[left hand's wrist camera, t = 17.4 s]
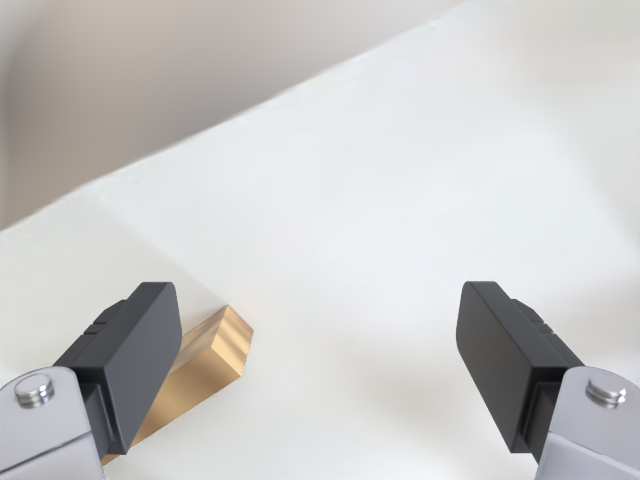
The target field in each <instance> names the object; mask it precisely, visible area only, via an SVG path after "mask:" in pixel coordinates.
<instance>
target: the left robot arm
mask: <svg viewBox="0 0 640 480" xmlns="http://www.w3.org/2000/svg"><path fill="white" fill-rule="evenodd" d="M181 342H182V329H181V322H180V316H179V309H178V303H177V296H176V290H175V286H174V284H173V283H172V282H143V283H141V284H140V285H139V286H138V287H137V289H136V290H135V291H134V292H133V293H132V294H131V295H130V297H129V298H128V299H127V300H121V301H119V302H117V303H116V304H114V305H112V306H111V307H109V308H107V309H106V310H104V311H103V312H102V313H101V314H100V315H99V317H98V318H97V319H96V320H95V321H94V322H93V325H90V326H89V327H88V328H87V329H86V330H85V331H84V335H81V336H80V337H79V338H78V339H77V340H76V341H75V342H74V343H73V344H72V345H71V346H70V347H69V349H68V350H67V351H66V352H65V353H64V354H63V355H62V356H61V357H60V358H59V359H58V360H57V361H56V362H55V363H54V364H53V366H52V367H45V368H41V369H37V370H34V371H31V372H28V373H26V374H23V375H21V376H19V377H17V378H15V379H14V380H12V381H10V382H9V383H7V384H6V385H5V386H3V387H2V388H1V389H0V480H106V479H105V476H104V472H103V469H102V465H101V461H102V459H103V457H104V456H105V455H126V454H127V452H128V450H129V448H130V446H131V444H132V442H133V440H134V438H135V436H136V434H137V433H138V431H139V429H140V427H141V425H142V423H143V421H144V419H145V417H146V415H147V413H148V411H149V409H150V407H151V406H152V404H153V402H154V400H155V398H156V396H157V394H158V392H159V390H160V388H161V386H162V384H163V382H164V380H165V379H166V377H167V375H168V373H169V371H170V369H171V367H172V365H173V363H174V361H175V359H176V357H177V355H178V353H179V351H180V347H181ZM456 342H457V347H458V350H459V353H460V355H461V357H462V359H463V361H464V363H465V365H466V367H467V369H468V371H469V372H470V374H471V376H472V378H473V380H474V382H475V384H476V386H477V388H478V390H479V392H480V394H481V396H482V398H483V400H484V402H485V404H486V406H487V408H488V410H489V412H490V413H491V415H492V417H493V419H494V421H495V423H496V425H497V427H498V429H499V431H500V433H501V435H502V437H503V439H504V441H505V443H506V445H507V447H508V449H509V451H510V453H532V455H533V456H534V458H535V460H536V462H537V464H538V469H537V472H536V476H535V479H534V480H640V389H639V388H638V387H637V386H635V385H634V384H633V383H631V382H630V381H628V380H626V379H625V378H623V377H621V376H619V375H617V374H614V373H612V372H609V371H606V370H603V369H599V368H595V367H586V366H585V365H584V364H583V363H582V362H581V361H580V360H579V358H578V357H577V356H576V355H575V354H574V353H573V352H572V351H571V350H570V349H569V348H568V347H567V346H566V344H565V343H564V342H563V341H562V340H561V339H560V338H559V337H558V336H557V335H556V334H553V331H552V329H551V328H550V327H549V326H548V325H547V324H544V321H543V320H542V319H541V318H540V317H539V315H538V314H537V313H536V312H535V311H534V310H533V309H531V308H530V307H528V306H526V305H525V304H523V303H521V302H520V301H518V300H516V299H510V298H509V296H508V295H507V294H506V293H505V292H504V291H503V290H502V288H501V287H500V286H499V285H498V284H497V283H496V282H494V281H467V282H465V283H464V285H463V288H462V294H461V301H460V308H459V314H458V321H457V328H456Z"/></svg>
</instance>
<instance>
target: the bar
mask: <svg viewBox="0 0 640 480" xmlns="http://www.w3.org/2000/svg"><path fill="white" fill-rule="evenodd" d="M252 335H253V330H252V329H251V328H250V327H249V326H248V325H247V324H246V322H245V321H244V320H243V319H242V318H241V317H240V316H239V315H238V314H237V313H236V312H235V311H234V310H233V309H232V308H231V307H230V306H229V305H227V306H225V307H224V308H223V309H221V310H220V311H218V312H217V313H215V314H214V315H213V316H211V317H210V318H208V319H207V320H206V321H204V322H203V323H201V324H200V325H199V326H197V327H196V328H194V329H193V330H192V331H190V332H189V333H187V334H186V335H184V336H183V337H182V342H181V347H180V351H179V353H178V355H177V357H176V359H175V361H174V363H173V365H172V367H171V369H170V371H169V373H168V375H167V377H166V379H165V380H164V382H163V384H162V386H161V388H160V390H159V392H158V394H157V396H156V398H155V400H154V402H153V404H152V406H151V407H150V409H149V411H148V413H147V415H146V417H145V419H144V421H143V423H142V425H141V427H140V429H139V431H138V433H137V434H136V436H135V438H134V440H133V442H132V444H131V446H130V448H131V447H133V446H135V445H136V444H138V443H139V442H141V441H142V440H144V439H145V438H147V437H148V436H150V435H152V434H153V433H155V432H156V431H158V430H159V429H161V428H162V427H164V426H165V425H167V424H168V423H170V422H172V421H173V420H175V419H176V418H178V417H179V416H181V415H182V414H184V413H185V412H187V411H189V410H190V409H192V408H193V407H195V406H196V405H198V404H199V403H201V402H202V401H204V400H205V399H207V398H209V397H210V396H212V395H213V394H215V393H216V392H218V391H219V390H221V389H222V388H224V387H226V386H227V385H229V384H230V383H232V382H233V381H235V380H236V379H238V378H239V377H241V376H242V373H243V369H244V365H245V361H246V357H247V354H248V350H249V346H250V342H251V339H252ZM130 448H129V449H130ZM118 456H119V455H105V456H104V457H103V459H102V461H101V465H102V466H104V465H105V464H107V463H108V462H110V461H111V460H113V459H114V458H116V457H118Z"/></svg>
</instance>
